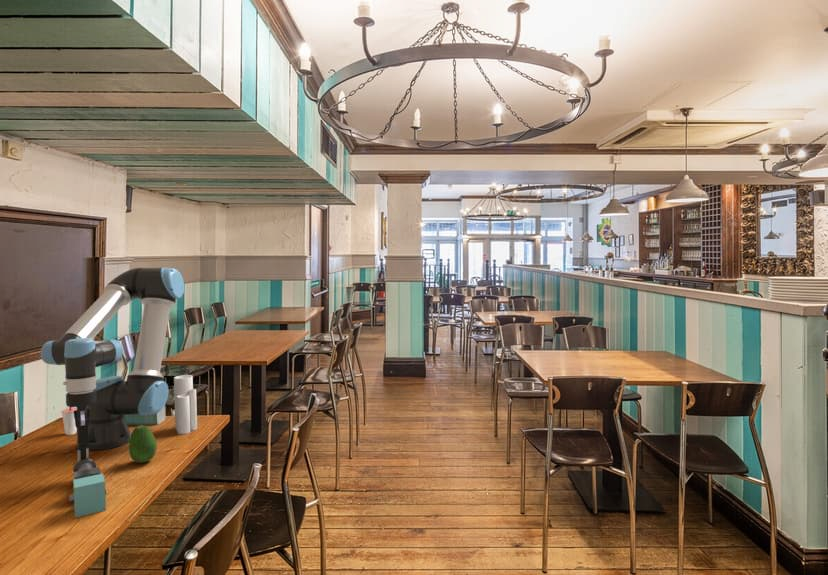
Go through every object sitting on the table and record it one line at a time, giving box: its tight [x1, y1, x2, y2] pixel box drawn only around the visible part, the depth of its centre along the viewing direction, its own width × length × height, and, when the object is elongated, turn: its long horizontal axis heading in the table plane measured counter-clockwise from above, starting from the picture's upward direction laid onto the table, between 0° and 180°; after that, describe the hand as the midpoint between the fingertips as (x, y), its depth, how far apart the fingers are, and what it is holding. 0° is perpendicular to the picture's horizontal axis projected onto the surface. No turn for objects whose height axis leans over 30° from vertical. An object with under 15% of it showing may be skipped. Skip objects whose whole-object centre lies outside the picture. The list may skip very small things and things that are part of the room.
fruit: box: [128, 425, 158, 464], centre depth 163 cm, size 8×8×12 cm
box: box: [124, 404, 167, 426], centre depth 205 cm, size 7×14×8 cm, turn 91°
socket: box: [72, 473, 107, 519], centre depth 132 cm, size 6×7×8 cm
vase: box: [173, 374, 198, 435], centre depth 195 cm, size 11×7×20 cm, turn 33°
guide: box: [68, 466, 107, 504], centre depth 139 cm, size 4×8×7 cm, turn 126°
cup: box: [61, 407, 77, 436], centre depth 191 cm, size 5×5×12 cm
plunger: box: [72, 458, 97, 476], centre depth 143 cm, size 17×6×6 cm, turn 36°
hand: (83, 469), depth 151 cm, fingers closed
